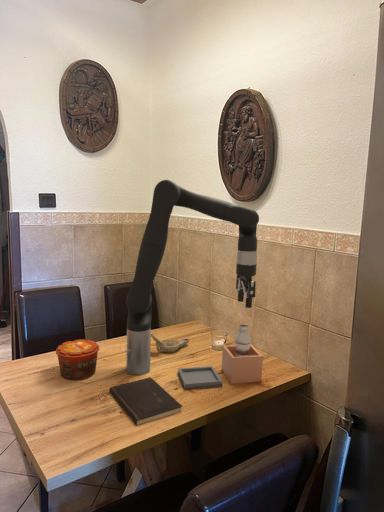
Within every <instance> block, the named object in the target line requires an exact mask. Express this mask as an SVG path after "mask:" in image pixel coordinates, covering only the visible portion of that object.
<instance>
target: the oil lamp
mask: <svg viewBox="0 0 384 512" xmlns="http://www.w3.org/2000/svg"><path fill="white" fill-rule="evenodd" d="M151 337H152V339H153V341H155V346H156V351H157V352H159V353H162V352H164V353H170V354H171V353H174V352H176V351H177V350H178V349H179V348H180V347H182V346H185V345H187V344H188V343H189V342H190V339H189V338H180V339H173V338H169V339H163V340H162V341H161V339H159V338H158V337H156V336H155V335H154V334H153V333H151Z"/></svg>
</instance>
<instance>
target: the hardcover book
mask: <svg viewBox="0 0 384 512" xmlns="http://www.w3.org/2000/svg"><path fill="white" fill-rule="evenodd" d="M108 389H109V390H108V391H109V392H108V393H110V395H111V396H112V397H113V398H114V400H115V401H116V402H117V403H118V405H119V406H120V407H121V408H122V409H123V411H124V412H125V413H126V415H127V416H128V417H129V418H130V420H131V421H132V422H133V423H134V425H135V426H138V425H142V424H144V423H148V422H151V421H154V420H158V419H160V418H163V417H166V416H170V415H173V414H176V413H180V412H182V408H183V405H182V404H181V403H180V402H179V401H177V400H176V399H175V398H174V397H173V396H172V395H171V394H170V393H168V391H166V390H165V389H164V388H163V387H162V386H161V385H160V384H159V383H158V382H157V381H155V379H153V378H152V377H151V376H149V377H146V378H143V379H142V378H141V379H138V380H134V381H131V382H129V381H128V382H126V383H122V384H118V385H114V386H111V387H109V388H108Z"/></svg>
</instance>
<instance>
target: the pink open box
mask: <svg viewBox="0 0 384 512" xmlns="http://www.w3.org/2000/svg"><path fill="white" fill-rule="evenodd" d="M221 357H222V359H221V370H222V372H223V374H224V375H225V377H226V378H227V380H228V381H229V382H230V384H232V385H233V384H244V383H253V382H254V383H255V382H262V381H263V380H262V378H263V376H262V375H263V363H264V358H263V357H264V356H263V354H261V352H259V351H258V350H257V348H255V347H254V346H253V344H252V343H251V344H250V349H249V356H239V357H235V344H233V345H232V344H231V345H222V354H221Z"/></svg>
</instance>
